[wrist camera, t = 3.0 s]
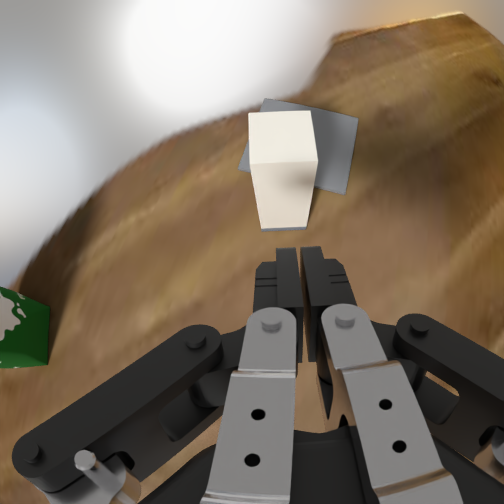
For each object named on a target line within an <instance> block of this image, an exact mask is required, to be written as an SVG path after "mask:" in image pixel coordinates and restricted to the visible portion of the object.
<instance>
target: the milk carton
mask: <svg viewBox="0 0 504 504" xmlns="http://www.w3.org/2000/svg"><path fill="white" fill-rule="evenodd" d="M49 316H50V307H49V306H46V305H44V304H41V303H39V302H37V301H35V300H32V299H30V298H28V297H26V296H24V295H21V294H19V293H17V292H15V291H12V290H9V289H6V288H3V287H0V368H21V367H32V366H42V365H48V332H49Z"/></svg>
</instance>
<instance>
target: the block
mask: <svg viewBox="0 0 504 504" xmlns="http://www.w3.org/2000/svg"><path fill="white" fill-rule="evenodd" d="M249 159H250V169H251V174H252V180H253V185H254V191H255V196H256V202H257V207H258V213H259V218H260V224H261V230H262V231H281V230H304V229H306V226H307V221H308V215H309V210H310V204H311V199H312V193H313V188H314V182H315V176H316V170H317V164H318V157H317V150H316V144H315V137H314V130H313V124H312V118H311V112H310V111H278V112H260V113H249Z"/></svg>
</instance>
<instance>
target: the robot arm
mask: <svg viewBox="0 0 504 504" xmlns="http://www.w3.org/2000/svg"><path fill="white" fill-rule="evenodd" d="M303 317H304V325H305V334H306V343H307V352H308V361H309V362H316V363H317V377H316V382H317V387H318V392H319V397H320V402H321V408H322V413H323V418H324V424H325V433H311V432H305V431H298V430H294V407H295V379H296V377H297V374H298V363H302V351H303ZM427 371H428V372H430V373H432V374H433V375H435V376H436V377H438V378H439V379H441V380H443V381H444V382H446V383H447V384H449V385H450V386H452V387H454V388H455V389H456V390H457V391H458V393H459V396H456V395H454V394H453V393H451V392H449V391H448V390H446V389H445V388H443V387H442V386H440V385H438V384H437V383H435V382H434V381H432V380H431V379H429V378H428V377H426V376H425V375H426V372H427ZM222 415H223V416H222ZM220 416H222V420H221V425H220V430H219V434H218V439H217V444H214V445H212V446H210V447H208V448H206V449H204V450H202V451H201V452H199V453H198V454H197V455H195V456H194V457H193V458H191V459H190V460H189V461H188V462H187V463H186V464H185V465H183V466H182V467H181V468H180V469H179V470H178V471H177V472H175V473H174V474H173V475H172V476H171V477H170V478H168V479H167V480H166V481H165V482H164V483H162V484H161V485H160V486H159V487H158V488H156V489H155V490H154V491H153V492H151V493H150V494H149V495H148V496H146V497H145V498H144V499H143V500H141V501H140V502H139V503H138V504H504V359H503V358H501V357H499V356H497V355H496V354H494V353H492V352H491V351H489V350H487V349H485V348H484V347H482V346H480V345H478V344H477V343H475V342H473V341H471V340H470V339H468V338H466V337H464V336H463V335H461V334H459V333H457V332H455V331H454V330H452V329H450V328H448V327H447V326H445V325H443V324H441V323H439V322H438V321H436V320H434V319H432V318H430V317H428V316H426V315H422V314H408V315H405V316H403V317H401V318H400V319H399V320H398V322H397V325H396V326H394V325H387V324H380V323H376V322H373V321H371V320H370V319H369V317H368V315H367V313H366V312H365V311H364V310H363V309H361V308H360V307H358V306H357V304H356V301H355V298H354V295H353V292H352V289H351V286H350V283H349V280H348V278H347V276H346V272H345V269H344V267H343V265H342V264H341V263H339V262H338V261H337V260H336V259H324V257H323V253H322V250H321V247H320V246H313V247H301V249H300V275H299V268H298V261H297V254H296V248H295V247H292V248H276V261H274V262H262V263H261V264H260V265H259V267H258V268H257V269H256V276H255V290H254V304H253V314H252V315H251V316H250V317H249V319H248V321H247V325H246V326H244V327H243V328H241V329H239V330H237V331H234V332H231V333H227V334H223V335H220V333H219V332H218V331H217V330H216V329H215V328H213V327H211V326H208V325H192V326H188V327H186V328H184V329H182V330H180V331H179V332H177V333H176V334H174V335H173V336H172V337H170V338H169V339H167V340H166V341H164V342H163V343H161V344H160V345H159V346H157V347H156V348H154V349H153V350H151V351H150V352H148V353H147V354H145V355H144V356H142V357H141V358H140V359H138V360H137V361H135V362H134V363H132V364H131V365H129V366H128V367H126V368H125V369H123V370H122V371H120V372H119V373H117V374H116V375H115V376H113V377H112V378H110V379H109V380H107V381H106V382H104V383H103V384H101V385H100V386H98V387H97V388H95V389H94V390H92V391H91V392H89V393H88V394H86V395H85V396H83V397H82V398H80V399H79V400H77V401H76V402H74V403H73V404H71V405H70V406H68V407H67V408H65V409H63V410H62V411H60V412H59V413H57V414H56V415H54V416H53V417H51V418H50V419H48V420H47V421H45V422H44V423H42V424H40V425H39V426H37V427H36V428H34V429H33V430H31V431H30V432H28V433H26V434H25V435H23V436H22V437H21V438H20V439H19V440H18V441H17V442H16V444H15V446H14V448H13V452H12V462H13V465H14V467H15V469H16V470H17V471H18V473H20V474H21V475H22V476H23V477H25V478H26V479H27V480H28V481H30V482H31V483H32V484H34V485H35V487H36V488H37V489H39V490H40V491H41V492H43V493H44V494H45V495H46V497H47V499H48V500H49V502H50V504H136V503H137V501H138V500H139V498H140V495H141V485H140V482H141V481H143V480H144V479H145V478H147V477H148V476H149V475H151V474H152V473H153V472H155V471H156V470H157V469H158V468H160V467H161V466H162V465H163V464H165V463H166V462H167V461H168V460H170V459H171V458H172V457H173V456H175V455H176V454H177V453H178V452H180V451H181V450H182V449H183V448H184V447H186V446H187V445H188V444H189V443H190V442H192V441H193V440H194V439H195V438H196V437H198V436H199V435H200V434H201V433H202V432H203V431H205V430H206V429H207V428H208V427H209V426H210V425H211V424H213V423H214V422H215V421H216V420H217V419H218V418H219V417H220ZM430 433H431V434H430ZM432 434H433V435H432ZM448 445H449V446H448ZM452 448H453V449H452ZM455 450H456V451H455ZM458 452H459V453H460V454H459V453H458ZM461 454H462V455H463V456H462V455H461ZM464 456H465V457H466V458H468V459H469V460H471V461H472V462H474V464H473V463H472V462H471V461H469V460H468V459H466V458H465V457H464Z"/></svg>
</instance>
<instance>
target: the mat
mask: <svg viewBox="0 0 504 504" xmlns="http://www.w3.org/2000/svg"><path fill="white" fill-rule="evenodd" d="M278 111H310V112H311V118H312V124H313V130H314V137H315V144H316V150H317V157H318V164H317V170H316V176H315V182H314V187H315V188H319V189H323V190H327V191H331V192H335V193H338V194H342V195H345V193H346V187H347V182H348V177H349V172H350V166H351V161H352V155H353V149H354V143H355V137H356V131H357V125H358V118H355V117H351V116H348V115H344V114H339V113H335V112H331V111H327V110H322V109H318V108H313V107H309V106H304V105H299V104H294V103H288V102H283V101H277V100H272V99H266V98H265V99H264V101H263V104H262V106H261V109H260V112H278ZM260 112H259V113H260ZM238 170H241V171H245V172H250V173H251V169H250V159H249V140H248V143H247V145H246V148H245V150H244V153H243V156H242V158H241V161H240V164H239V166H238Z"/></svg>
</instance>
